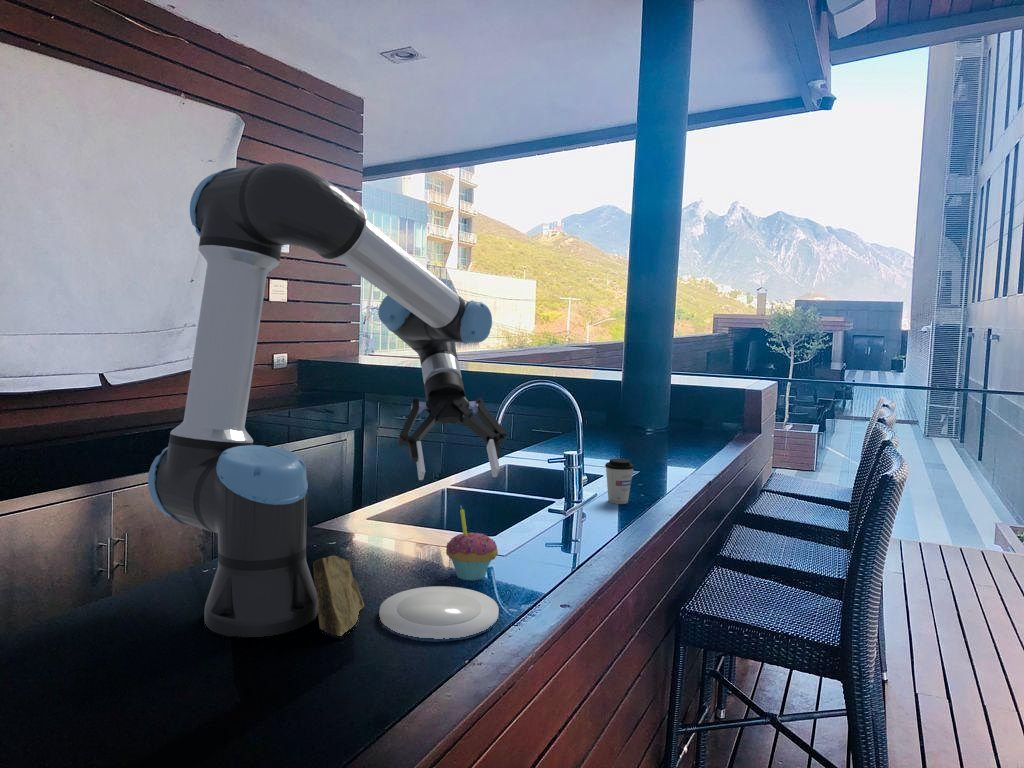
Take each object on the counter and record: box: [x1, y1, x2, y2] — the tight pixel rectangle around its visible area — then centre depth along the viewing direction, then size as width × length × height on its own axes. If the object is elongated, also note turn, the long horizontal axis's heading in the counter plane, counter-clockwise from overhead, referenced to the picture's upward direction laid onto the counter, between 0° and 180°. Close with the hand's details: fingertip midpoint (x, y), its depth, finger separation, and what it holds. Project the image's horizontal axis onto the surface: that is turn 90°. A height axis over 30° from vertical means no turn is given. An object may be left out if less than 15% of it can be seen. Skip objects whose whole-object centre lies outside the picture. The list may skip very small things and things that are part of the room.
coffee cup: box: [604, 458, 635, 505], centre depth 175 cm, size 7×7×10 cm
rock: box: [312, 555, 365, 636], centre depth 102 cm, size 11×9×10 cm
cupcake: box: [445, 505, 499, 581], centre depth 122 cm, size 9×8×12 cm
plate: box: [378, 585, 500, 639], centre depth 105 cm, size 17×17×1 cm
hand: (459, 474), depth 131 cm, fingers open, 13 cm apart
